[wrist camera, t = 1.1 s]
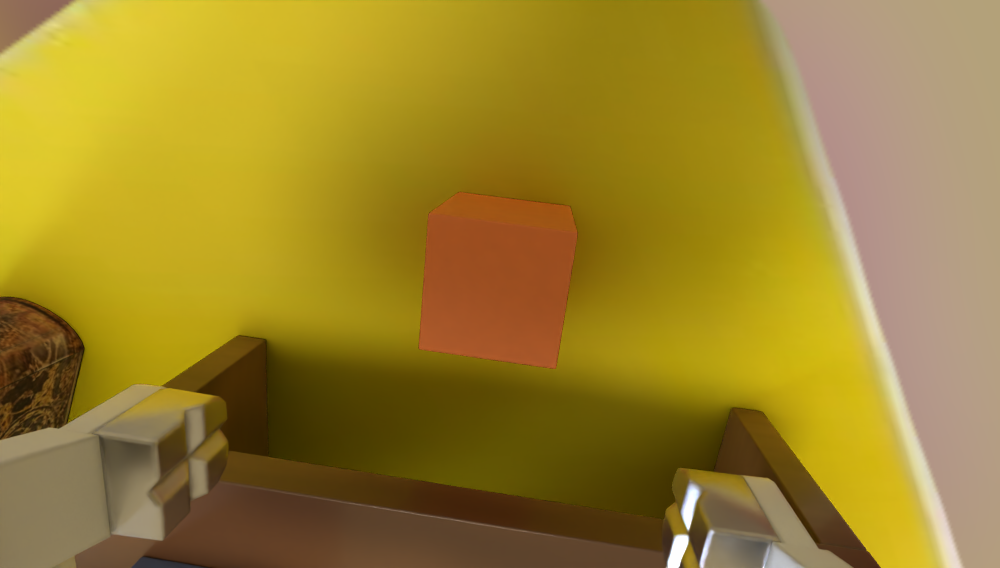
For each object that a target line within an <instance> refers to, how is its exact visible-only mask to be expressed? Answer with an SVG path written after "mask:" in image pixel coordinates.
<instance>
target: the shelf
mask: <svg viewBox="0 0 1000 568" xmlns="http://www.w3.org/2000/svg"><path fill="white" fill-rule="evenodd" d="M162 387H166V388H173V389H179V390H184V391H190V392H196V393H202V394H207V395H213V396H219V397H221V398H222V399H223V400H224V401H225V402H226V407H227V420H226V422H225V423H224V424H223V425H222V426H221V428H220V430H221V431H222V432H223V434H224V435H225V437H226V438H227V440H228V445H229V454H228V459H227V464H226V467H225V469H224V471H223V474H222V476H221V478H220V480H219V482H218V483H217V484H216V485H215V486H214V487H213V488H212V490H211V491H210V492H209V493H208V494H206V495H204V496H201V497H199V498H197V499H195V500H192V501H190V506H191V512H190V513H189V514H188V515H187V516H186V517H185V518H184V519H183V520H182V521H181V522H180V523H179V524H178V525H177V526H176V527H175V528H174V530H173V531H172V532H171V533H170V534H169V535H168V536H167V537H166V538H165V539H164V540H163V541H160V540H153V539H145V538H138V537H131V536H123V535H116V534H111V536H110V537H109V538H107V539H105V540H103V541H101V542H100V543H98V544H96V545H94V546H92V547H90V548H88V549H86V550H84V551H83V552H81V553H79V554H77V555H75V562H76V568H131V567H132V566H133V565H134V564H135V563H136V562H137V561H138V560H139V559H140V558H141V557H149V558H155V559H161V560H167V561H172V562H178V563H184V564H190V565H196V566H202V567H208V568H666V564H665V560H664V556H663V549H662V526H663V521H664V519H660V518H654V517H647V516H641V515H635V514H628V513H622V512H616V511H609V510H603V509H597V508H590V507H584V506H577V505H571V504H565V503H558V502H552V501H546V500H539V499H533V498H527V497H520V496H514V495H508V494H501V493H495V492H489V491H482V490H476V489H470V488H463V487H457V486H451V485H444V484H438V483H432V482H425V481H419V480H412V479H406V478H400V477H393V476H387V475H381V474H374V473H368V472H362V471H355V470H349V469H343V468H336V467H330V466H324V465H317V464H311V463H305V462H298V461H292V460H286V459H279V458H273V457H268V417H267V375H266V340H265V339H259V338H252V337H245V336H236V337H235V338H233V339H232V340H230V341H229V342H227V343H226V344H224V345H223V346H221V347H220V348H218V349H217V350H215V351H214V352H212V353H211V354H209V355H208V356H206V357H205V358H203V359H202V360H200V361H199V362H197V363H196V364H194V365H193V366H191V367H190V368H188V369H187V370H185V371H184V372H182V373H181V374H179V375H178V376H176V377H175V378H173V379H172V380H170V381H169V382H167V383H166V384H164V385H163V386H162ZM714 472H719V473H726V474H734V475H745V476H754V477H762V478H769V479H770V480H772V481H773V482H775V484H776V485H777V487H778V488H779V490H780V491H781V493H782V494H783V496H784V497H785V499H786V500H787V502H788V503H789V505H790V506H791V508H792V509H793V511H794V512H795V514H796V515H797V517H798V518H799V520H800V521H801V523H802V524H803V526H804V527H805V529H806V530H807V532H808V533H809V535H810V536H811V538H812V539H813V541H814V542H815V544H816V545H817V547H818V548H819V549H822V550H828V551H830V552H832V553H833V554H835V555H836V556H838V557H839V558H840V559H842V560H843V561H845V562H846V563H848V564H849V565H850V566H852V567H853V568H880V566H879V565H878V564H877V562H876V561H875V560H874V558H873V557H872V556H871V554H870V553H869V552H868V551H866V548H865V547H864V546H863V544H862V543H861V542H860V540H859V539H858V538H857V536H856V535H855V534H854V532H853V531H852V530H851V528H850V527H849V526H848V524H847V523H846V522H845V520H844V519H843V518H842V516H841V515H840V514H839V512H838V511H837V510H836V508H835V507H834V506H833V505H832V503H831V502H830V501H829V499H828V498H827V497H826V495H825V494H824V493H823V491H822V490H821V489H820V487H819V486H818V485H817V483H816V482H815V481H814V479H813V478H812V477H811V475H810V474H809V473H808V471H807V470H806V469H805V467H804V466H803V465H802V463H801V462H800V461H799V459H798V458H797V457H796V456H795V454H794V453H793V452H792V450H791V449H790V448H789V446H788V445H787V444H786V442H785V441H784V440H783V438H782V437H781V436H780V434H779V433H778V432H777V430H776V429H775V428H774V426H773V425H772V424H771V422H770V421H769V420H768V418H767V417H766V416H765V414H764V413H763V412H761V411H754V410H747V409H740V408H731V411H730V415H729V418H728V422H727V426H726V429H725V433H724V436H723V440H722V443H721V447H720V450H719V454H718V458H717V461H716V465H715V468H714Z"/></svg>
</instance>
